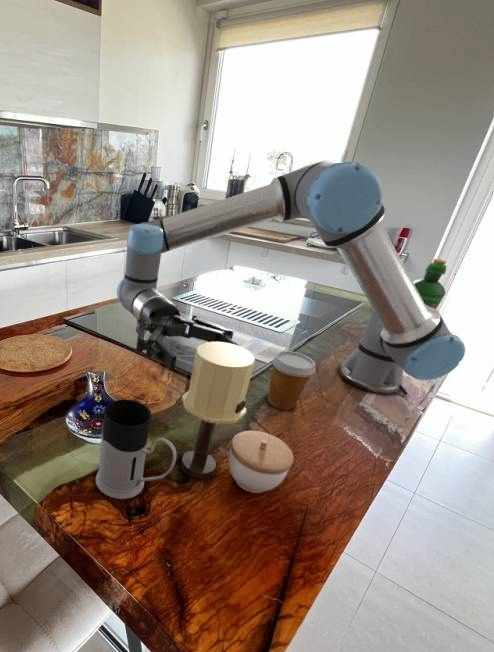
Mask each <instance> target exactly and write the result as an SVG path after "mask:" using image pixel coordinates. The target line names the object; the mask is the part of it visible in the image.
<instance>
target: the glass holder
mask: <svg viewBox="0 0 494 652" xmlns="http://www.w3.org/2000/svg"><path fill="white" fill-rule="evenodd" d="M151 419H152V413H151V410H150V409H149V407H147V405H145V404H143V402H140V401H137V400H133V399H117V400H114V401H112V402H110V403H108V404H107V405H106V407H105V408H104V415H103V422H102V428H101V436H100V437H101V440H100V451H99V464H98V471H97V473H96V475H95V484H96V487H97V488H98V490H99V491H100V492H101V493H102V494H104V495H106V496H108V497H110V498H112V499H117V500H126V499H131V498H134V497H136V496H138V495H139V494H140V493H141V492H142V491H143V489H144V486H145V482H151V481H157V480H162V479H164V478H166V477H167V476H168V474H170V472H172V470H173V468H174V467H175V464H176V460H177V455H178V454H177V453H178V452H177V449H176V447H175V445H174V444H173V443H172V442H171V441H170V439H167V438H165V437H157V438H156V439H154V440H153V442H152V443H151V445H150V448H149V450H148V445H149V431H150V426H151ZM157 442H163V443H164V444H166V445H167V446H168V447H169V449H170V451H171V452H172V460H171V464H170V466H169V468H168V470H167V471H165V473H163V474H161V475H157V476H150V477H144V471H145V464H146V459H147V455H150V454H152V453H153V452H154V451H155V446H156V444H157Z"/></svg>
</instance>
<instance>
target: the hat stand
mask: <svg viewBox="0 0 494 652" xmlns="http://www.w3.org/2000/svg"><path fill="white" fill-rule="evenodd" d="M200 420H201V421H200V425H199V429H198V433H197V436H196V437H197V438H196V442H195V446H194V450H189V451H186V452H185V453H184V454H182V457H181V462H180V467H181V469H182V471H183V473H184V474H186V475H187V476H189V477H191V478H193V479H197V480H208V479H210V478H211V477H213V475H214V474H215V471H216V468H217V462H216V460H215V459H214V457H212V455H210V454H209V453H210V449H211V446H212V441H213V437H214V434H215V429H216V426H217V423H209V422H206V421H204V420H202V419H200Z"/></svg>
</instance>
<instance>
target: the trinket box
mask: <svg viewBox="0 0 494 652" xmlns="http://www.w3.org/2000/svg"><path fill="white" fill-rule="evenodd" d="M227 459H228V461H227V463H228V469H229V472H230V474H231V476H232V478H233V479H234V481H235V482H236V484H237V485H238V486H239V487H240V488H241V489H243V490H245V491H246V492H250V493H252V494H253V493H254V494H262V493H264V492H269V491H272V490H273V489H276V488H277V487H278V486H280V484H282V482H283V481H284V480H285V478H286V477H287V475H288V473H289V471H290V469H291V468H292V466H293V463H294V454H293V451H292V450H291V448H290V447H289V445H287V444H286V443H285V442H284V441H283V440H281V439H280V438H279V437H276V436H274V435H272V434H270V433H267V432H263V431H259V430H244V431H241V432H238V433H236V434H235V435H234V436H233V437H232V439H231V442H230V448H229V452H228V458H227Z"/></svg>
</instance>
